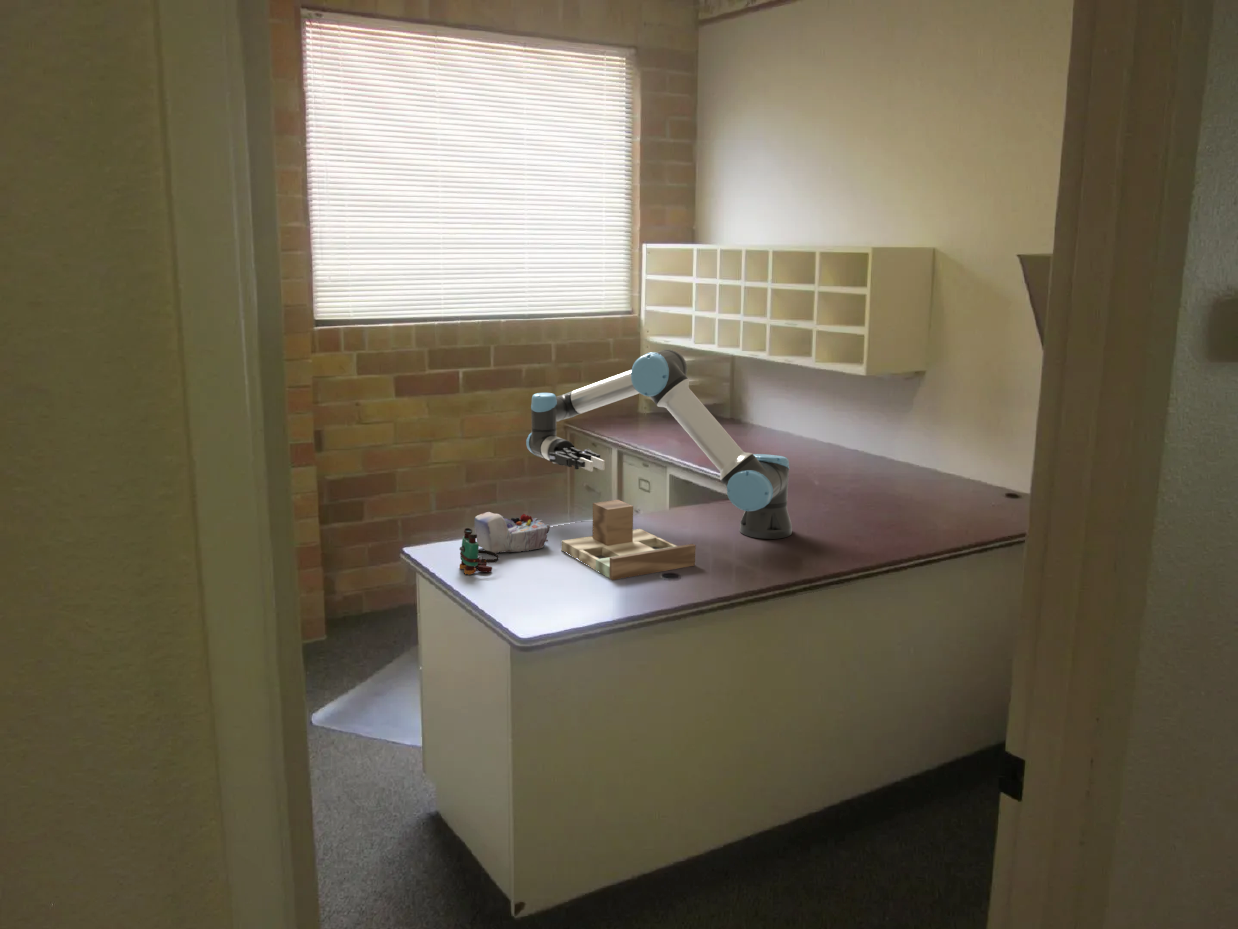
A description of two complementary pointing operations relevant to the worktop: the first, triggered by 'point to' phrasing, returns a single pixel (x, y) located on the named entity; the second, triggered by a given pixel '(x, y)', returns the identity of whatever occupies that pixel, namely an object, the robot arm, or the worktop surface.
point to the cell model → (510, 533)
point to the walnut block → (612, 522)
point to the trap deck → (631, 555)
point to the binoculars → (474, 555)
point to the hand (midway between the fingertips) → (597, 466)
